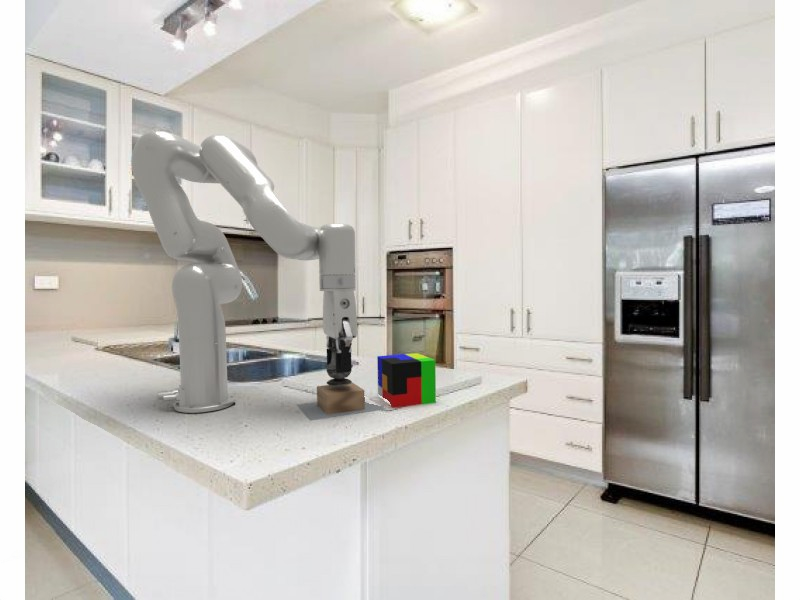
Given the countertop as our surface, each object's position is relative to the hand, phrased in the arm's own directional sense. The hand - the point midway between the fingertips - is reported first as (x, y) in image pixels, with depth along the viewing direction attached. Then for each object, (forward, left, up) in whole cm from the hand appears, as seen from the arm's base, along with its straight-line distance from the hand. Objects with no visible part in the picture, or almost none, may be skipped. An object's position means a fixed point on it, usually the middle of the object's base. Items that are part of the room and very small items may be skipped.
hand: (338, 368), depth 95 cm
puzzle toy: (+15, -1, -9) cm, 18 cm away
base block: (0, 0, -8) cm, 8 cm away
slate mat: (0, 0, -9) cm, 9 cm away
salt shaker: (0, 0, -3) cm, 3 cm away
